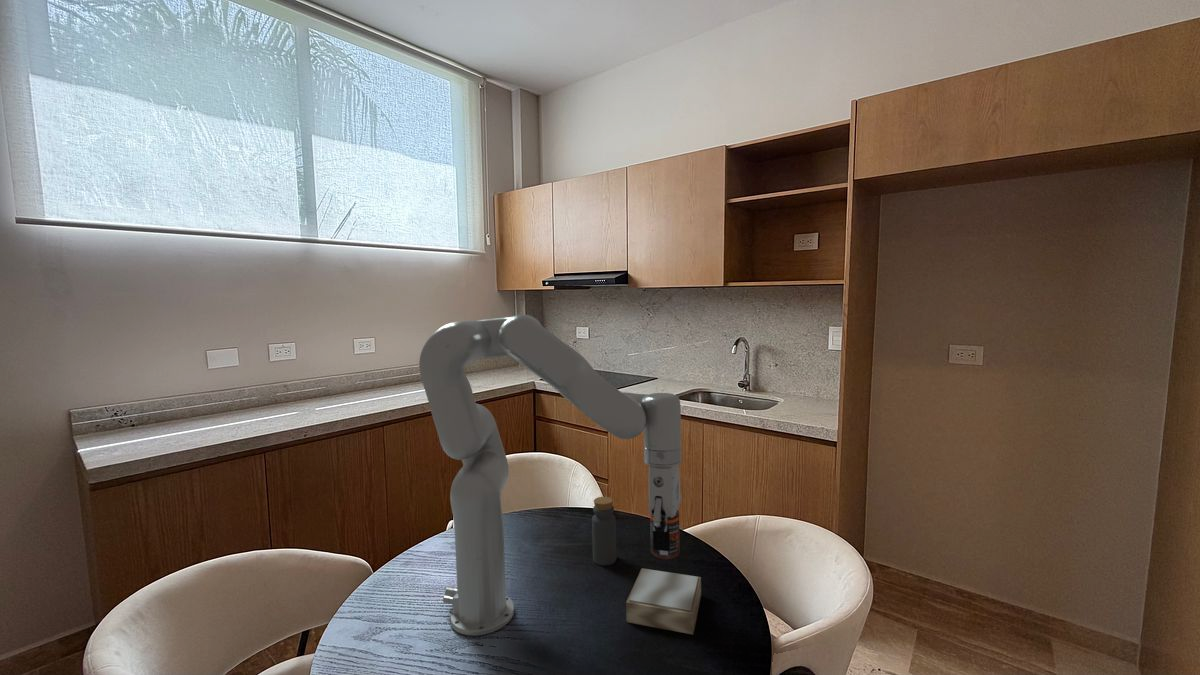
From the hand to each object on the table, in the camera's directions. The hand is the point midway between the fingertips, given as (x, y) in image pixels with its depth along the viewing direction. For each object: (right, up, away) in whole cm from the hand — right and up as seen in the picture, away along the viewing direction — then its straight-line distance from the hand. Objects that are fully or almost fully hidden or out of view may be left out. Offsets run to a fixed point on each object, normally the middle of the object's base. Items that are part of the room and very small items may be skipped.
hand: (664, 540), depth 97 cm
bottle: (-12, -14, +21) cm, 28 cm away
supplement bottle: (0, -3, 0) cm, 3 cm away
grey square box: (0, -14, +1) cm, 14 cm away
